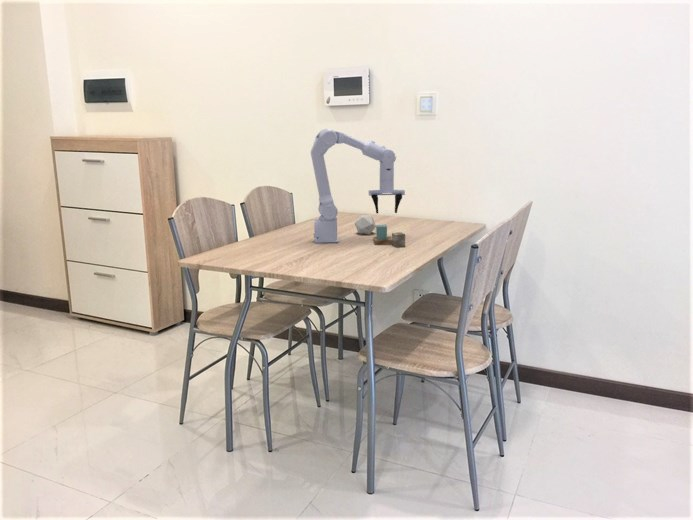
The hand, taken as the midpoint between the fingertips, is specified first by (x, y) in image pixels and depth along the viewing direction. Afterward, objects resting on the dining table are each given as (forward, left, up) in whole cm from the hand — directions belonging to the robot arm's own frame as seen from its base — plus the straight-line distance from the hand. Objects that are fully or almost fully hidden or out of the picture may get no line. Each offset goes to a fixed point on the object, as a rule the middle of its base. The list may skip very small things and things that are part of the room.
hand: (386, 212), depth 238 cm
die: (-8, +10, -11) cm, 17 cm away
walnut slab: (-2, -10, -11) cm, 15 cm away
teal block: (-3, -10, -8) cm, 13 cm away
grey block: (+3, -16, -10) cm, 19 cm away
